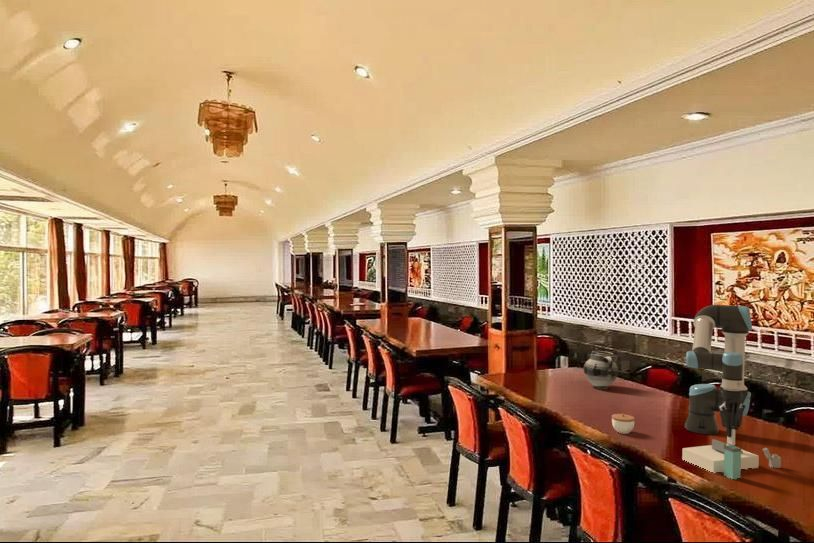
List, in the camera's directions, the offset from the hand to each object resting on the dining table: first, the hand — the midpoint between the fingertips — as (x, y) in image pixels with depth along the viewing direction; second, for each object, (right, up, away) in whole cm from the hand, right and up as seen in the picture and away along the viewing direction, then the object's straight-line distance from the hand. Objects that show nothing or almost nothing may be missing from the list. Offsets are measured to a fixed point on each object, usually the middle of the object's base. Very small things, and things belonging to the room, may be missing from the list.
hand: (730, 444), depth 230 cm
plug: (-9, -8, -16) cm, 21 cm away
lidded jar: (-30, -7, +41) cm, 51 cm away
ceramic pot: (-5, -7, +141) cm, 142 cm away
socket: (-6, -8, -2) cm, 10 cm away
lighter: (+14, -8, -5) cm, 17 cm away
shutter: (-2, -3, -1) cm, 4 cm away
